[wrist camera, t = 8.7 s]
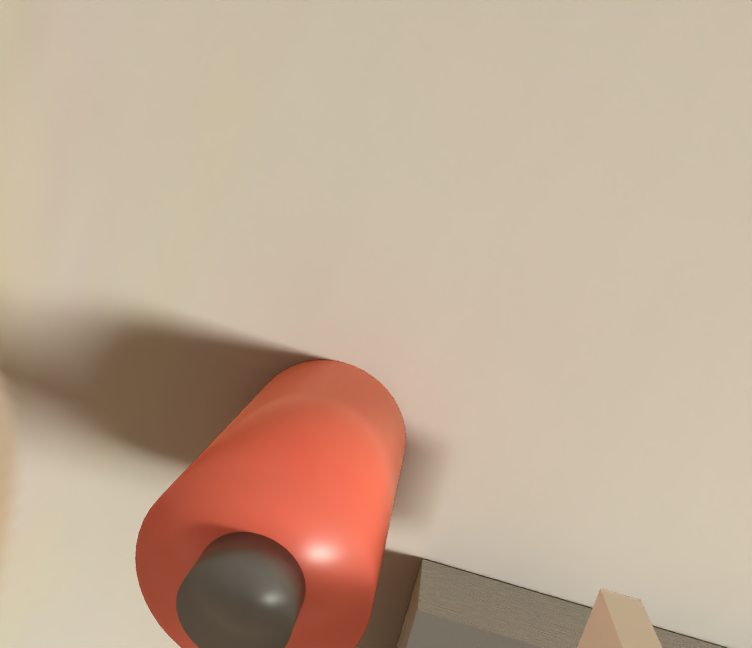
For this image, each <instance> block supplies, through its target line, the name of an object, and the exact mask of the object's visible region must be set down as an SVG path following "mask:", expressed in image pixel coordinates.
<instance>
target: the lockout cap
mask: <svg viewBox="0 0 752 648" xmlns="http://www.w3.org/2000/svg"><path fill="white" fill-rule="evenodd" d="M405 445H406V433H405V425H404V421H403V417H402V415H401V412H400V410H399V407H398V405H397V404H396V402H395V400H394V398H393V397H392V396H391V394H390V393H389V392H388V390H387V389H386V388H385V387H384V386H383V385H382V384H381V383H380V382H379V381H377V380H376V379H375V378H374V377H373V376H371V375H370V374H368V373H366V372H365V371H363V370H361V369H359V368H357V367H355V366H352V365H349V364H346V363H343V362H338V361H332V360H312V361H307V362H302V363H299V364H296V365H293V366H291V367H289V368H287V369H285V370H284V371H282V372H281V373H279V374H278V375H276V376H275V377H274V378H273V379H272V380H271V381H270V382H269V383H268V384H267V385H266V386H265V387H264V388H263V389H262V390H261V391H260V392H259V393H258V395H257V396H256V397H255V398H254V399H253V400H252V401H251V402H250V403H249V404H248V405H247V406H246V407H245V408H244V409H243V410H242V411H241V412H240V413H239V415H238V416H237V417H236V418H235V419H234V420H233V421H232V422H231V423H230V424H229V425H228V426H227V427H226V428H225V429H224V430H223V431H222V432H221V433H220V435H219V436H218V437H217V438H216V439H215V440H214V441H213V442H212V443H211V444H210V445H209V446H208V447H207V448H206V449H205V450H204V451H203V452H202V453H201V455H200V456H199V457H198V458H197V459H196V460H195V461H194V462H193V463H192V464H191V465H190V466H189V467H188V468H187V469H186V470H185V471H184V472H183V473H182V475H181V476H180V477H179V478H178V479H177V480H176V481H175V482H174V483H173V484H172V485H171V486H170V487H169V488H168V489H167V490H166V491H165V492H164V494H163V495H162V496H161V497H160V498H159V499H158V500H157V501H156V502H155V504H154V505H153V506H152V507H151V509H150V510H149V512H148V514H147V515H146V517H145V519H144V521H143V523H142V526H141V529H140V531H139V534H138V539H137V544H136V558H135V560H136V571H137V577H138V581H139V585H140V588H141V591H142V594H143V596H144V599H145V601H146V603H147V605H148V607H149V609H150V611H151V613H152V614H153V616H154V617H155V619H156V620H157V622H158V623H159V625H160V626H161V627H162V628H163V629H164V631H165V632H166V633H167V634H168V635H169V636H170V637H171V638H172V639H173V640H174V641H175V642H176V643H177V644H178V645H179V646H180V647H181V648H355V646H356V645H357V644H358V643H359V641H360V639H361V638H362V636H363V634H364V632H365V631H366V628H367V625H368V622H369V620H370V616H371V612H372V607H373V602H374V597H375V592H376V587H377V583H378V578H379V573H380V568H381V563H382V558H383V553H384V549H385V544H386V539H387V534H388V529H389V524H390V520H391V515H392V510H393V505H394V500H395V495H396V491H397V486H398V481H399V476H400V471H401V466H402V461H403V457H404V451H405Z"/></svg>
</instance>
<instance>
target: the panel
mask: <svg viewBox="0 0 752 648" xmlns="http://www.w3.org/2000/svg"><path fill="white" fill-rule="evenodd" d="M591 611H592V609H591V608H588V607H584V606H581V605H578V604H574V603H571V602H567V601H564V600H561V599H557V598H554V597H550V596H547V595H544V594H540V593H537V592H533V591H530V590H527V589H523V588H520V587H516V586H513V585H510V584H506V583H503V582H499V581H496V580H492V579H489V578H486V577H482V576H479V575H475V574H472V573H469V572H465V571H462V570H458V569H455V568H452V567H448V566H445V565H441V564H438V563H435V562H431V561H428V560H424V559H423V560H422V563H421V566H420V570H419V573H418V576H417V580H416V583H415V586H414V590H413V593H412V597H411V600H410V603H409V607H408V610H407V613H406V617H405V620H404V623H403V627H402V630H401V634H400V637H399V640H398V644H397V647H396V648H577V647H578V644H579V642H580V639H581V637H582V634H583V632H584V629H585V627H586V624H587V621H588V619H589V616H590V614H591ZM653 628H654V630H655V633H656V635H657V637H658V639H659V641H660V644H661V646H662V648H724V647H720V646H717V645H714V644H710V643H707V642H703V641H700V640H697V639H693V638H690V637H686V636H683V635H680V634H676V633H673V632H669V631H666V630H663V629H659V628H656V627H653Z"/></svg>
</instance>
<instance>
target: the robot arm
mask: <svg viewBox="0 0 752 648" xmlns="http://www.w3.org/2000/svg"><path fill="white" fill-rule="evenodd" d="M577 648H662V646H661V644H660V641H659V639H658V637H657V635H656V633H655V630H654V628H653V626H652V624H651V622H650V620H649V617H648V615H647V613H646V611H645V609H644V606H643V604H642V602H641V600H639V599H636V598H632V597H629V596H625V595H622V594H618V593H615V592H611V591H608V590H604V589H600V591H599V594H598V596H597V599H596V601H595V604H594V606H593V609H592V611H591V614H590V616H589V619H588V621H587V624H586V627H585V629H584V632H583V634H582V637H581V639H580V642H579V644H578V647H577Z"/></svg>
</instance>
